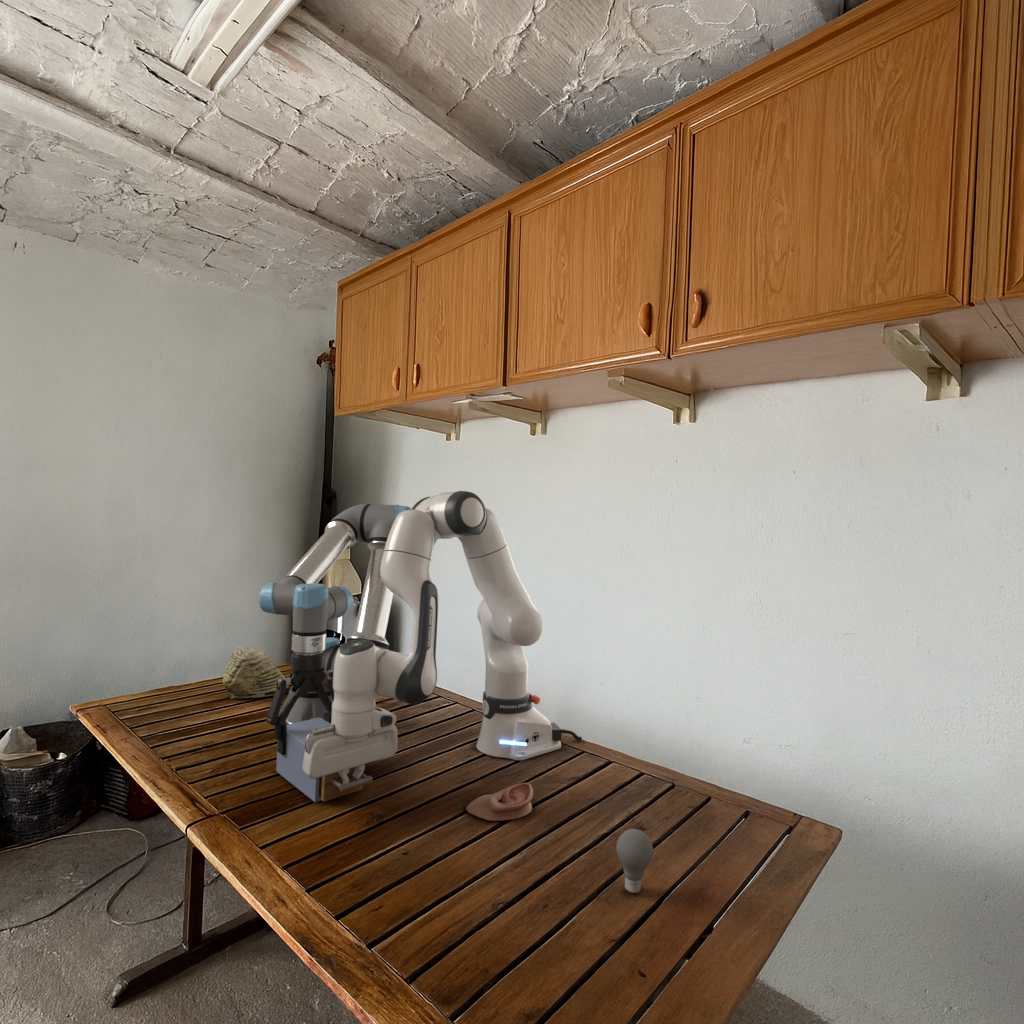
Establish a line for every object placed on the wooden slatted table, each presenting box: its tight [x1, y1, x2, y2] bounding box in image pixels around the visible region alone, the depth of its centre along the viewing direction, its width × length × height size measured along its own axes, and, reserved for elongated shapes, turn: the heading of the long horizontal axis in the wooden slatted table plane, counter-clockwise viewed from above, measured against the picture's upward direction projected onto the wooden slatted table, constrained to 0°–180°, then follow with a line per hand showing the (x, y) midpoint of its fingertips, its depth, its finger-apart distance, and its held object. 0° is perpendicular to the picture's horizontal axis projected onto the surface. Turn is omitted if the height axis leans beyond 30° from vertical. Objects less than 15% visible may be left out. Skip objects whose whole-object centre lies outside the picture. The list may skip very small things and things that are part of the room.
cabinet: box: [275, 717, 331, 803], centre depth 142 cm, size 19×10×10 cm, turn 44°
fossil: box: [222, 646, 286, 699], centre depth 198 cm, size 9×18×15 cm, turn 132°
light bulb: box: [615, 828, 654, 894], centre depth 106 cm, size 6×6×10 cm
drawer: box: [319, 767, 373, 803], centre depth 137 cm, size 23×9×8 cm, turn 44°
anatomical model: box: [465, 782, 534, 822], centre depth 132 cm, size 13×4×12 cm
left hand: (304, 747), depth 146 cm, fingers closed on cabinet, 10 cm apart
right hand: (350, 786), depth 131 cm, fingers closed
